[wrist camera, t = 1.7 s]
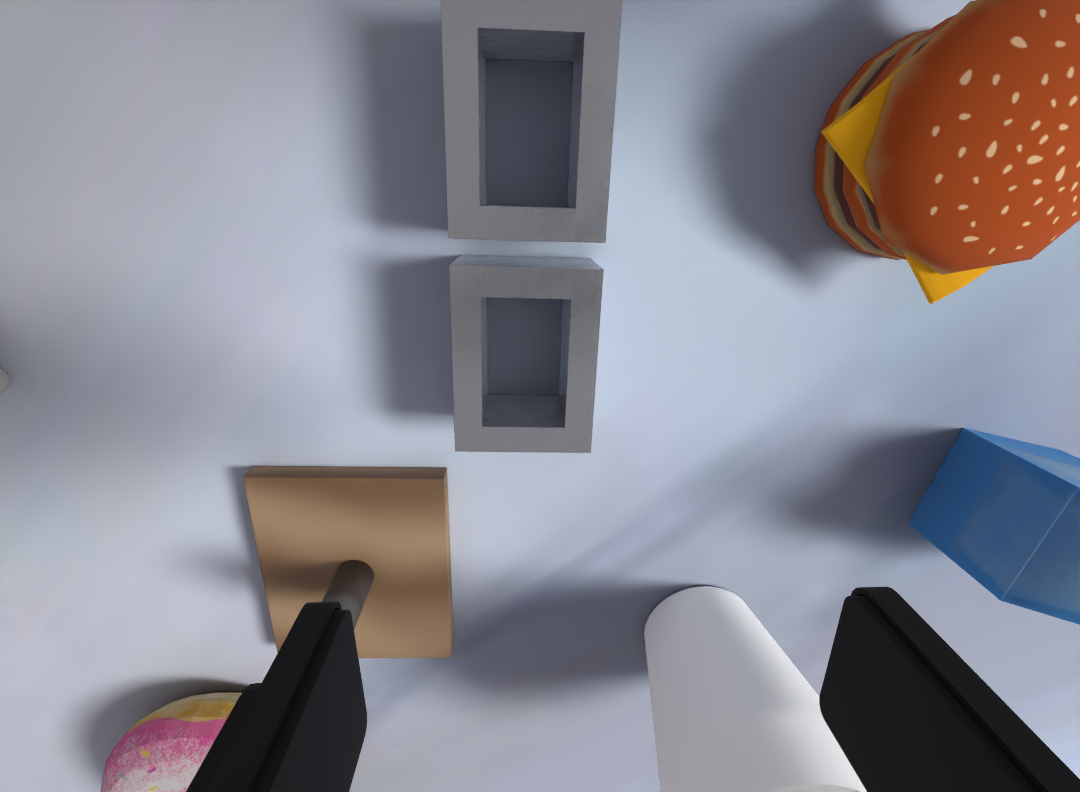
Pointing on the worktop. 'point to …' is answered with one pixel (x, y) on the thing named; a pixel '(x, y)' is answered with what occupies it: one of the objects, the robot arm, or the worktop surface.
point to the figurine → (3, 380)
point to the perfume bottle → (1009, 520)
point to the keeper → (358, 552)
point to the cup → (734, 704)
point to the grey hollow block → (593, 46)
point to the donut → (167, 745)
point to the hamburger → (959, 143)
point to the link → (571, 413)
